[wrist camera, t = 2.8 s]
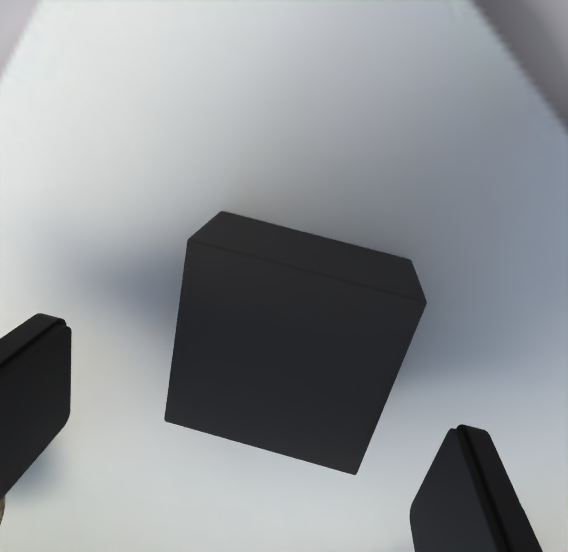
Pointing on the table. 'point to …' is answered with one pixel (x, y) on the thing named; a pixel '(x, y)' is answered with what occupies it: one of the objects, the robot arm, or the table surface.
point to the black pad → (289, 339)
